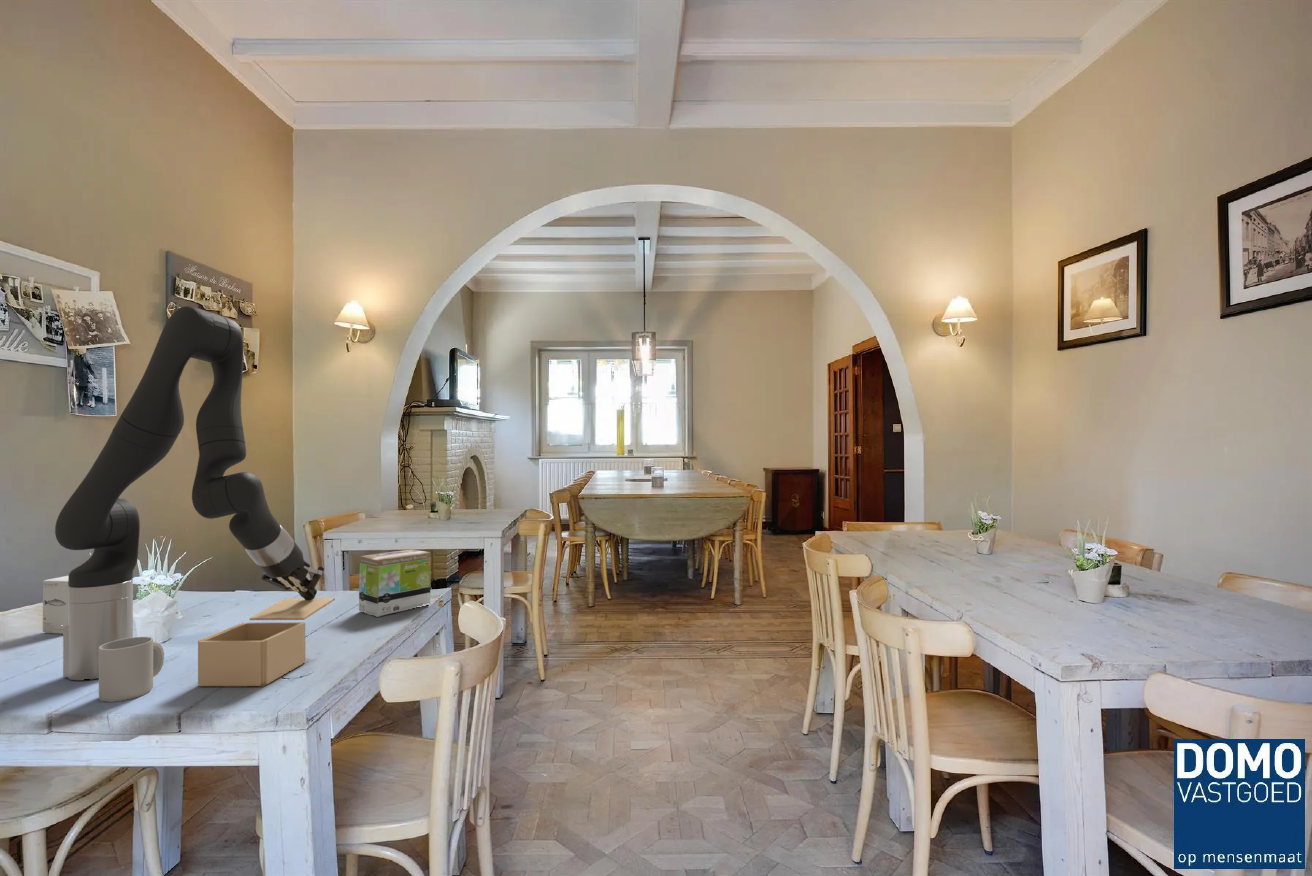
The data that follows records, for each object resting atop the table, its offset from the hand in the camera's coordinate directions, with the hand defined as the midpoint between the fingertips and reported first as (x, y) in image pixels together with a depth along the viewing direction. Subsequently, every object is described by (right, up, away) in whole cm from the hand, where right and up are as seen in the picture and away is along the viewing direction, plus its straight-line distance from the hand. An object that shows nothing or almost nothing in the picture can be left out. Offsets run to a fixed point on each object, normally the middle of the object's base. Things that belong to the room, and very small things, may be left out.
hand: (311, 596), depth 133 cm
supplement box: (-66, -12, +14) cm, 68 cm away
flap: (-1, -2, -11) cm, 12 cm away
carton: (-1, -10, -18) cm, 20 cm away
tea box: (+6, -11, +29) cm, 32 cm away
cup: (-17, -10, -25) cm, 32 cm away
